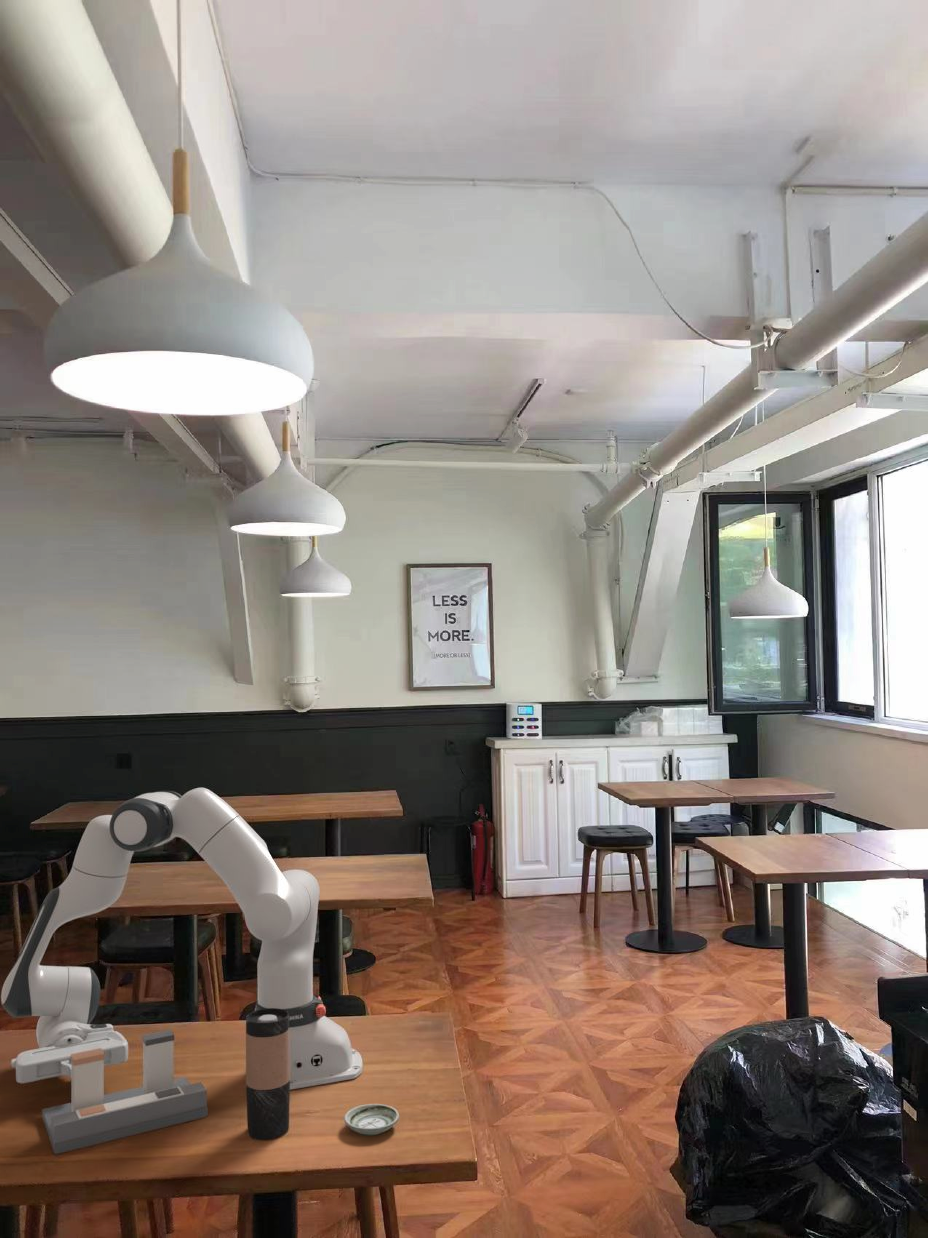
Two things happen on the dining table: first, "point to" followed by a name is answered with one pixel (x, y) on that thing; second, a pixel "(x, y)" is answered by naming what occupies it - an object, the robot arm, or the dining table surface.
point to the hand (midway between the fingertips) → (78, 1072)
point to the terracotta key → (87, 1079)
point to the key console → (124, 1115)
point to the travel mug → (267, 1073)
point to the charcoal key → (158, 1061)
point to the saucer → (371, 1118)
